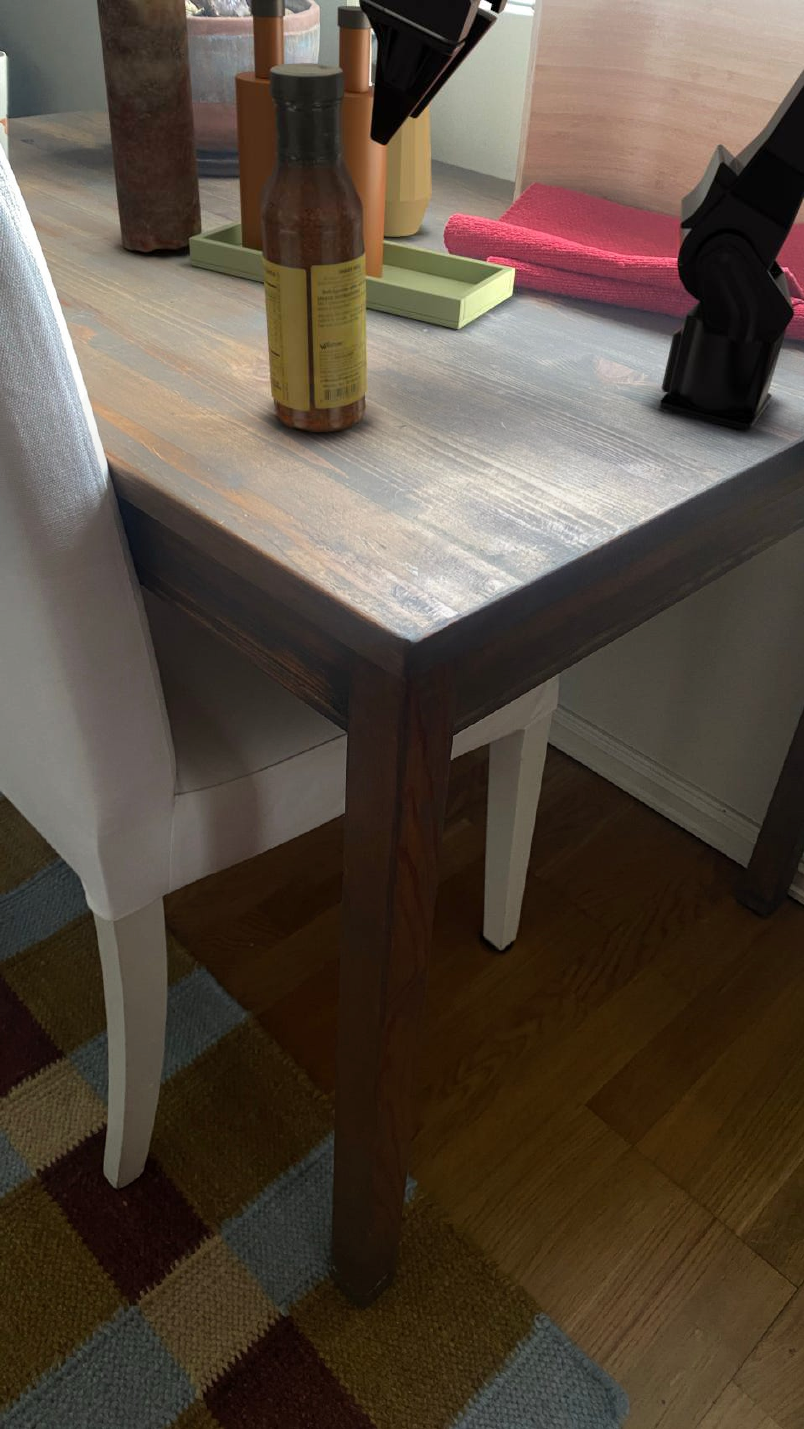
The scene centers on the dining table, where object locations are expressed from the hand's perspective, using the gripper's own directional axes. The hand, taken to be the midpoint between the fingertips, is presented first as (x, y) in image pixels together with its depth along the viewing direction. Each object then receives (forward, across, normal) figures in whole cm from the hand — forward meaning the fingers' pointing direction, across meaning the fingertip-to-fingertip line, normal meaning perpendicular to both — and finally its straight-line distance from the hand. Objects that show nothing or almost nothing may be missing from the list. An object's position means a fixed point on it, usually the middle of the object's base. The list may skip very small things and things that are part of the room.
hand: (394, 128), depth 67 cm
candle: (+23, -21, -20) cm, 37 cm away
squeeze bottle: (+17, -34, -2) cm, 38 cm away
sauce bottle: (+15, +11, +3) cm, 19 cm away
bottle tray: (+17, -18, -2) cm, 24 cm away
